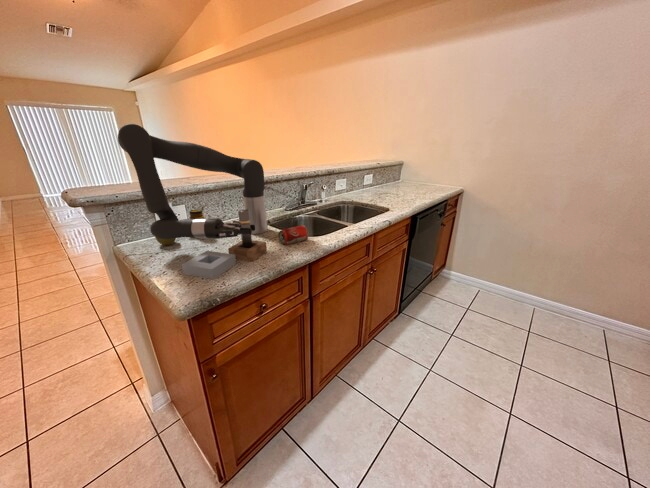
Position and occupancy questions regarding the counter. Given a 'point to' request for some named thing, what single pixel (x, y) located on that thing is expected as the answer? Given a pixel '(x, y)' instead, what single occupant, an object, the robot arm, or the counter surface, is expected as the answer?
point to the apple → (165, 241)
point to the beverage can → (293, 234)
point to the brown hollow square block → (248, 251)
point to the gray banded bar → (245, 223)
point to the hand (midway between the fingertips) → (252, 229)
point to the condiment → (196, 217)
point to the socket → (209, 264)
